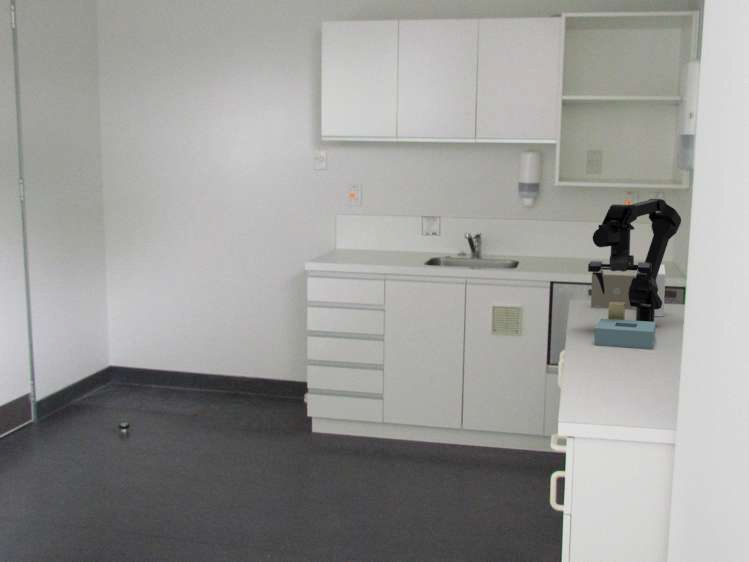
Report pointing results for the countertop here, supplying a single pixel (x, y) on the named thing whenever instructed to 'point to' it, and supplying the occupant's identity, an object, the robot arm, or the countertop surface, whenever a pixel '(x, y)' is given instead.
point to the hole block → (625, 333)
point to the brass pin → (616, 310)
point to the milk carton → (660, 289)
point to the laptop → (611, 291)
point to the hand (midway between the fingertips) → (618, 294)
